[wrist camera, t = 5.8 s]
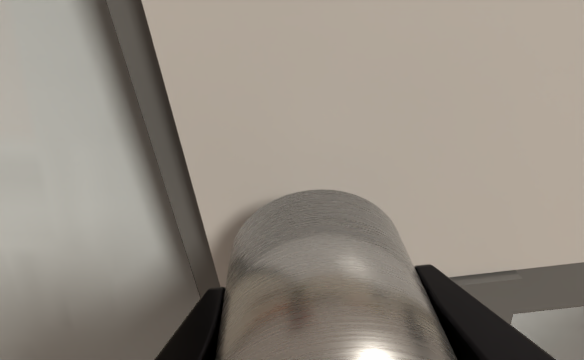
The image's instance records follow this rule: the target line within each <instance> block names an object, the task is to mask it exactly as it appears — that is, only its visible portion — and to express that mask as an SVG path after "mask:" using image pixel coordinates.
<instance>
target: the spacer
mask: <svg viewBox="0 0 584 360" xmlns="http://www.w3.org/2000/svg"><path fill="white" fill-rule="evenodd" d="M215 360H457V358H456V356H455V354H454V351H453V349H452V347H451V345H450V343H449V341H448V339H447V336H446V334H445V332H444V330H443V328H442V326H441V323H440V321H439V319H438V317H437V315H436V313H435V310H434V308H433V306H432V304H431V302H430V300H429V298H428V295H427V293H426V291H425V289H424V287H423V285H422V282H421V280H420V278H419V276H418V274H417V272H416V269H415V267H414V265H413V263H412V261H411V259H410V256H409V254H408V252H407V250H406V248H405V246H404V244H403V241H402V239H401V237H400V235H399V233H398V231H397V228H396V227H395V225H394V223H393V222H392V220H391V219H390V218H389V217H388V216H387V214H386V213H385V212H384V211H382V210H381V209H380V208H379V207H378V206H376V205H375V204H373V203H372V202H370V201H368V200H366V199H364V198H362V197H360V196H357V195H354V194H351V193H347V192H342V191H337V190H324V189H320V190H307V191H301V192H296V193H292V194H289V195H285V196H283V197H280V198H278V199H276V200H273V201H272V202H270V203H268V204H266V205H264V206H263V207H261V208H260V209H259V210H257V211H256V212H255V213H254V214H252V215H251V216H250V217H249V218H248V219H247V220H246V222H245V223H244V224H243V225H242V227H241V228H240V229H239V231H238V233H237V235H236V237H235V239H234V242H233V244H232V248H231V254H230V260H229V267H228V274H227V280H226V287H225V294H224V301H223V308H222V314H221V321H220V328H219V335H218V342H217V349H216V355H215Z"/></svg>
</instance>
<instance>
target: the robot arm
mask: <svg viewBox="0 0 584 360" xmlns="http://www.w3.org/2000/svg"><path fill="white" fill-rule="evenodd" d="M414 267H415V269H416V272H417V274H418V276H419V278H420V280H421V282H422V285H423V287H424V289H425V291H426V293H427V295H428V298H429V300H430V302H431V304H432V306H433V308H434V310H435V313H436V315H437V317H438V319H439V321H440V323H441V326H442V328H443V330H444V332H445V334H446V336H447V339H448V341H449V343H450V345H451V347H452V349H453V351H454V354H455V356H456V358H457V360H556V359H554V358H553V357H552V356H550V355H549V354H548V353H547V352H545V351H544V350H543V349H541V348H540V347H539V346H537V345H536V344H535V343H533V342H532V341H531V340H530V339H528V338H527V337H526V336H524V335H523V334H522V333H520V332H519V331H518V330H517V329H515V328H514V327H513V326H511V325H510V324H509V323H507V322H506V321H505V320H503V319H502V318H501V317H500V316H498V315H497V314H496V313H494V312H493V311H492V310H490V309H489V308H488V307H487V306H485V305H484V304H483V303H481V302H480V301H479V300H477V299H476V298H475V297H474V296H472V295H471V294H470V293H468V292H467V291H466V290H464V289H463V288H462V287H460V286H459V285H458V284H457V283H455V282H454V281H453V280H451V279H450V278H449V277H447V276H446V275H445V274H444V273H442V272H441V271H440V270H438V269H437V268H436V267H434V266H433V265H431V264H425V265H416V266H414ZM224 294H225V287H216V288H210V289H208V290H207V291H206V292H205V293H204V295H203V296H202V297H201V299H200V300H199V301H198V303H197V304H196V305H195V307H194V308H193V309H192V311H191V312H190V313H189V315H188V316H187V317H186V319H185V320H184V321H183V323H182V324H181V325H180V327H179V328H178V329H177V331H176V332H175V333H174V335H173V336H172V337H171V339H170V340H169V341H168V343H167V344H166V345H165V347H164V348H163V349H162V351H161V352H160V353H159V355H158V356H157V357H156V359H155V360H215V355H216V349H217V342H218V335H219V328H220V321H221V314H222V308H223V301H224Z"/></svg>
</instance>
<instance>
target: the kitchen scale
mask: <svg viewBox="0 0 584 360" xmlns="http://www.w3.org/2000/svg"><path fill="white" fill-rule="evenodd" d="M106 2H107V6H108V9H109V12H110V15H111V18H112V21H113V24H114V28H115V31H116V34H117V37H118V40H119V43H120V46H121V50H122V53H123V56H124V59H125V62H126V65H127V68H128V72H129V75H130V78H131V81H132V84H133V87H134V90H135V94H136V97H137V100H138V103H139V106H140V109H141V112H142V116H143V119H144V122H145V125H146V128H147V131H148V134H149V138H150V141H151V144H152V147H153V150H154V153H155V156H156V160H157V163H158V166H159V169H160V172H161V175H162V178H163V182H164V185H165V188H166V191H167V194H168V197H169V200H170V204H171V207H172V210H173V213H174V216H175V219H176V222H177V226H178V229H179V232H180V235H181V238H182V241H183V244H184V248H185V251H186V254H187V257H188V260H189V263H190V267H191V270H192V273H193V276H194V279H195V282H196V285H197V289H198V292H199V295H200V298H201V297H202V296H203V295H204V293H205V292H206V291H207V290H208V289H210V288H216V287H226V280H227V274H228V267H229V260H230V254H231V248H232V244H233V242H234V239H235V237H236V235H237V233H238V231H239V229H240V228H241V227H242V225H243V224H244V223H245V222H246V220H247V219H248V218H249V217H250V216H251V215H252V214H254V213H255V212H256V211H257V210H259V209H260V208H261V207H263V206H264V205H266V204H268V203H270V202H272V201H273V200H276V199H278V198H280V197H283V196H285V195H289V194H292V193H296V192H301V191H307V190H320V189H324V190H337V191H342V192H347V193H351V194H354V195H357V196H360V197H362V198H364V199H366V200H368V201H370V202H372V203H373V204H375V205H376V206H378V207H379V208H380V209H381V210H382V211H384V212H385V213H386V214H387V216H388V217H389V218H390V219H391V220H392V222H393V223H394V225H395V227H396V228H397V231H398V233H399V235H400V237H401V239H402V241H403V244H404V246H405V248H406V250H407V252H408V254H409V256H410V259H411V261H412V263H413V265H414V266H416V265H425V264H431V265H433V266H434V267H436V268H437V269H438V270H440V271H441V272H442V273H444V274H445V275H446V276H447V277H449V278H450V279H451V280H453V281H454V282H455V283H457V284H458V285H459V286H460V287H462V288H463V289H464V290H466V291H467V292H468V293H470V294H471V295H472V296H474V297H475V298H476V299H477V300H479V301H480V302H481V303H483V304H484V305H485V306H487V307H488V308H489V309H490V310H492V311H493V312H494V313H496V314H497V315H498V316H500V317H501V318H502V319H503V320H505V321H506V322H507V323H509V324H511V320H512V317H513V314H517V313H526V312H535V311H544V310H553V309H562V308H571V307H580V306H584V0H106Z"/></svg>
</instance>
